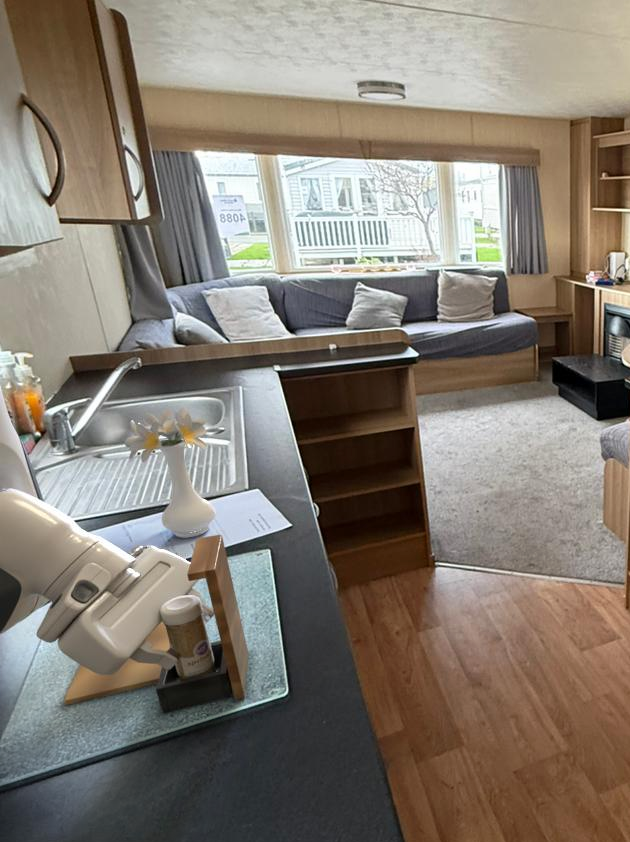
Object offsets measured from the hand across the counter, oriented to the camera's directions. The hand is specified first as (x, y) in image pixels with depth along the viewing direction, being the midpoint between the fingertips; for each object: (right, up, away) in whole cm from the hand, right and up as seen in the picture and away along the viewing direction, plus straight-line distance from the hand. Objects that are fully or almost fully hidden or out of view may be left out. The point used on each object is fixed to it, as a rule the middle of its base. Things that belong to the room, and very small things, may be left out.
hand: (194, 639), depth 87 cm
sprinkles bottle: (-1, -7, +3) cm, 8 cm away
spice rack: (-1, -7, +3) cm, 8 cm away
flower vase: (-29, +9, +45) cm, 54 cm away
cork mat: (-15, -5, +9) cm, 18 cm away
